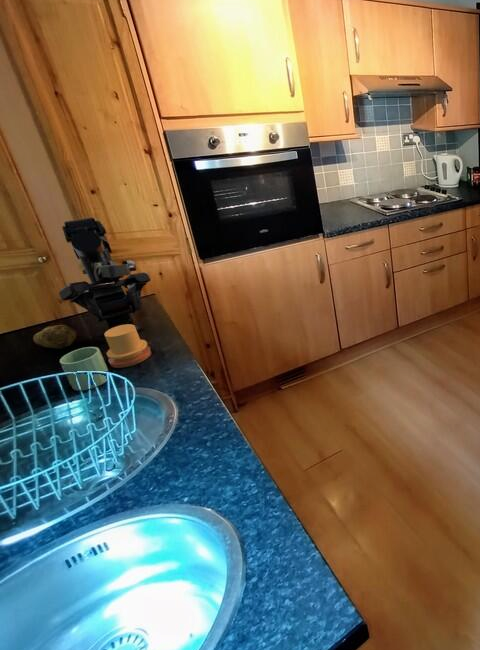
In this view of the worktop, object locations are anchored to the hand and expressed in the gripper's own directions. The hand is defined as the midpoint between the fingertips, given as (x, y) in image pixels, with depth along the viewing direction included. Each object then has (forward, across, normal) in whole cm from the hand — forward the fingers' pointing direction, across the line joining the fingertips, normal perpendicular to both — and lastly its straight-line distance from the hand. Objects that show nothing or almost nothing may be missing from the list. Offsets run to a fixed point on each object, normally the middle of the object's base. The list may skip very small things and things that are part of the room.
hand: (120, 314), depth 123 cm
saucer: (+12, -1, +3) cm, 12 cm away
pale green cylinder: (+15, -11, +3) cm, 19 cm away
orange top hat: (+11, -1, +2) cm, 11 cm away
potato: (+1, -4, +24) cm, 24 cm away
